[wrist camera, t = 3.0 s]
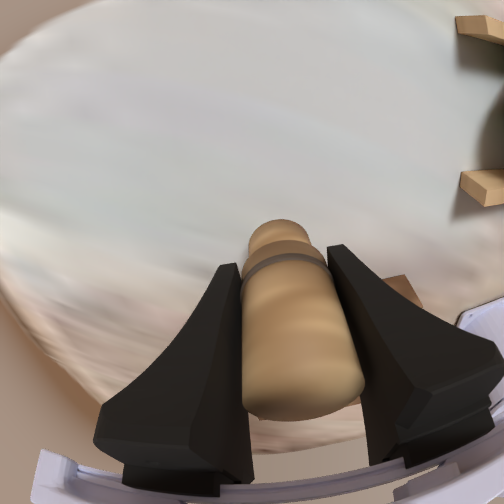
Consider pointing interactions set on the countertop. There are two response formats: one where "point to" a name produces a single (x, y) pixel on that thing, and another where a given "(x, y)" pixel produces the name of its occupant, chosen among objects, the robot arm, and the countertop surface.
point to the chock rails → (496, 180)
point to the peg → (293, 330)
